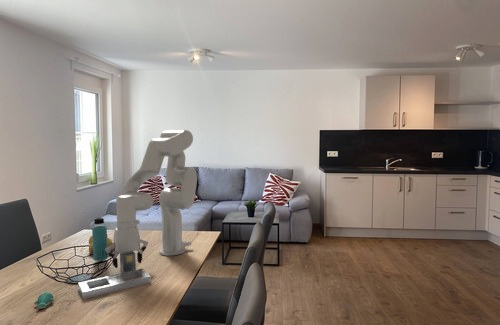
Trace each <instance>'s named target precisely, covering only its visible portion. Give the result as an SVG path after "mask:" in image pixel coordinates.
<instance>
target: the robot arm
mask: <svg viewBox="0 0 500 325" xmlns="http://www.w3.org/2000/svg"><path fill="white" fill-rule="evenodd" d="M193 141H194V135H193V133H192V132H191V131H189V130H187V129H169V130H165V131H162V132H161V133H160V137H157V138H152V139H151V140H150V141H149V142H148V145H147V148H146V150H145V153H144V157H143V159H142V162H141V165H140V168H139V169H138V170H136V172H134V174H132V176H131V177H130V178H129V179H128V180H127V182H126V184H125V186H124V189H123V192H122V195H118V196H116V200H115V203H116V228H115V229H114V232H113V233H114V234H113V242H112V243H113V244H112V245H110V246H109V247H107V248H106V249H105V250H106V252H107V253H108V257H111V259H112V266H113V267H114V268H115V269H118V268H119V265H118V264H119V263H118V258H117V257H118V256H120V253H126V252H131V251H133V252H136V251H137V253H136V256H137V257H136V258H137V259H136V261H137V262H138V263H139V264H142V261H143V253H144V252H145V250H146V248H147V246H148V244H149V242H148V241H147V240H144V239H142V238H140V230H139V226H138V224H140V220H137V212H138V211H147V210H149V209H151V208H152V206H153V205H154V202H155V199H154V197H153V195H151V194H150V193H148V192H142V191H141V192H140V191H139V190H140V187H141V186H142V185H143V184H144V183H145V182H147V181H148V180H150V179H152V178H153V179H154V177H156V176H158V175H159V174H160V171H161V168H162V166H163V162H164V159H165V158H166V157H167V165H166V172H165V182H166V184H168V185H170V186H174V188H173V187H168V188H164V189H162V190H161V191H160V193H159V195H158V196H159V197H158V201H159V206H160V211H161V235H162V242H161V243H162V244H161V247H162V248H160V249H159V250H158V251H159V254H160V255H162V256H167V257H169V256H172V257H173V256H178V255H182V254H184V253H185V252H186V247H188V246H192V241H191V240H190V241H186V240H185V241H183V225H182V224H183V223H182V222H183V220H182V218H183V217H182V213H181V210H189V209H191V208H192V206H193V204H194V202H195V198H196V197H195V196H196V189H197V183H198V182H197V181H198V176H197V175H198V174H197V172H196V170H195V169H194V168H193V167H190V166H186V154H185V150H187V149H188V148H189V147H191V145H192V144H193ZM175 186H176V187H181V188H176V187H175ZM141 244H143V245H142V246H141ZM112 248H114V250H113V253H112V251H111V252H110V250H111V249H112Z"/></svg>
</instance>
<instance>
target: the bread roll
mask: <svg viewBox="0 0 500 325" xmlns="http://www.w3.org/2000/svg"><path fill="white" fill-rule="evenodd" d="M107 238H108V239H107V240H108V241H107V243H108V247H109V246H110V245H112V244H113V243H114V242H113V240H112V239H110V238H109V237H107ZM92 244H93V237H92V235H91V236H90V237H89V239H88V253H89V254H91V255H93V245H92ZM110 252H111V253H112V252H114V248H112V249H111V250H110Z"/></svg>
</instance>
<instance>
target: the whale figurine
mask: <svg viewBox="0 0 500 325" xmlns="http://www.w3.org/2000/svg"><path fill="white" fill-rule="evenodd" d="M54 301H55V299H54V295H53V294H52V293H51V292H48V291H46V292H42V293H41V294H39V296H38V297H37V299H36V301H34V302H33V303H34V305H36V309H37V310H39V309H45V308H47V306H50V304H52V303H54Z"/></svg>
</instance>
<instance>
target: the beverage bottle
mask: <svg viewBox="0 0 500 325" xmlns="http://www.w3.org/2000/svg"><path fill="white" fill-rule="evenodd" d="M93 224H94V226H93V227H92V228H91V231H92V232H91V233H92V235H91V236H92V237H93V244H92V245H93V254H92V258H93V261H96V262H101V261H105V260H108V259H109V255H108V253H107V252H106V250H105V249H106V248H107V247H108V243H107V241H108V240H107V239H108V238H109V236H108V227H107V226H106V225H104V224H105V219H104V217H98V218H94V220H93Z"/></svg>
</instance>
